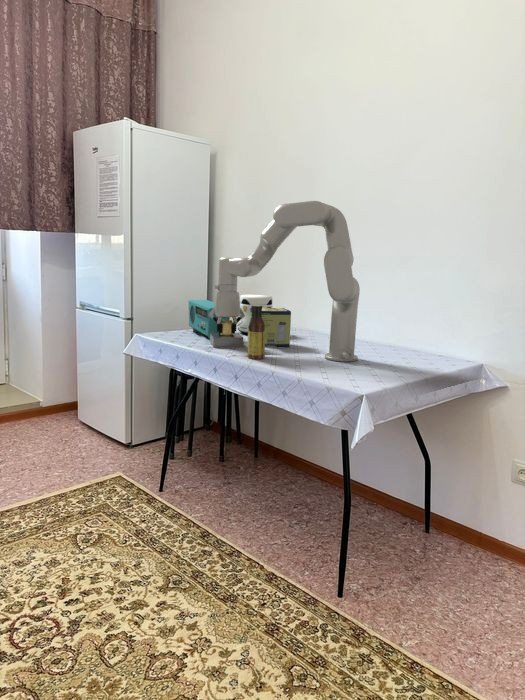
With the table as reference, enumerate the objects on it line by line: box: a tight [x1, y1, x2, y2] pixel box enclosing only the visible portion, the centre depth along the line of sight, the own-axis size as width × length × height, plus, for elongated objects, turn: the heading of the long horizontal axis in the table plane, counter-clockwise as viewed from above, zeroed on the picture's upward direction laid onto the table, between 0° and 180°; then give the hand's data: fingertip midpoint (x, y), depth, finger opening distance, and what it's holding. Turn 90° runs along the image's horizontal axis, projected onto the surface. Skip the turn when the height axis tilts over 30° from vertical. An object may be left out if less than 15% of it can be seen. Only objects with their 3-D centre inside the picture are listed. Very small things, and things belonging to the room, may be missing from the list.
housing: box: [209, 332, 244, 349], centre depth 219 cm, size 12×12×5 cm
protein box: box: [250, 307, 292, 348], centre depth 225 cm, size 10×16×16 cm
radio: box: [188, 299, 231, 340], centre depth 243 cm, size 34×10×15 cm, turn 23°
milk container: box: [236, 294, 273, 335], centre depth 255 cm, size 17×17×18 cm
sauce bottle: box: [247, 305, 266, 360], centre depth 198 cm, size 7×6×20 cm
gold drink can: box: [221, 319, 233, 336], centre depth 218 cm, size 5×5×10 cm
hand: (226, 332), depth 218 cm, fingers open, 5 cm apart
